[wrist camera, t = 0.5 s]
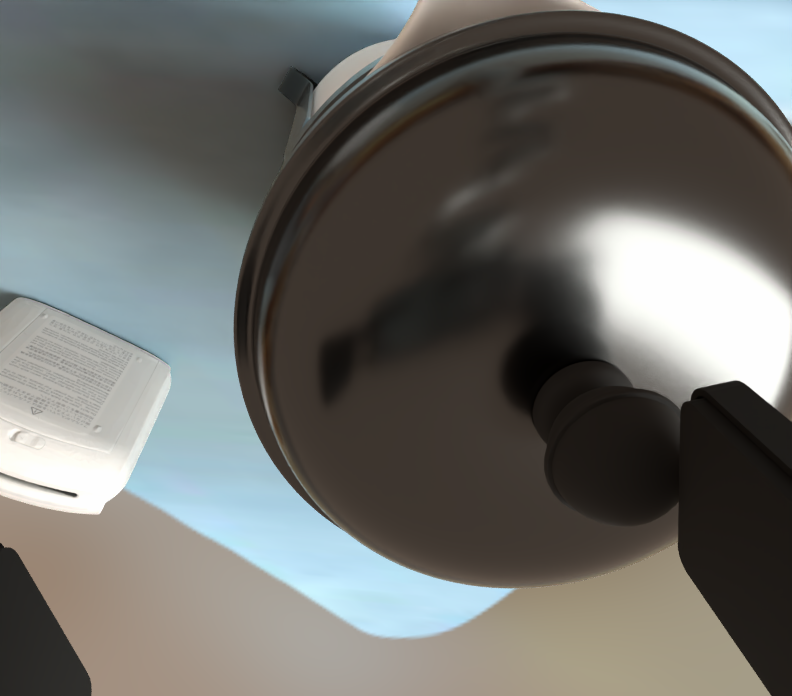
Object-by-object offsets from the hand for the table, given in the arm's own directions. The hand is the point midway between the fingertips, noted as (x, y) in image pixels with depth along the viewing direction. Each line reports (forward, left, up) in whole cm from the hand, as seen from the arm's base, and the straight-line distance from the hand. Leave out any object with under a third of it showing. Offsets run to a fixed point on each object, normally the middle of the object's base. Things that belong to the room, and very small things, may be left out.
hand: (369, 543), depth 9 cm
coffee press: (+1, +5, -30) cm, 30 cm away
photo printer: (+10, -15, -30) cm, 35 cm away
